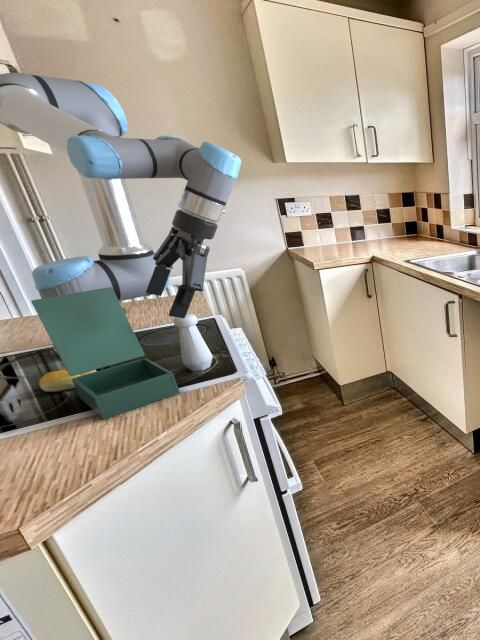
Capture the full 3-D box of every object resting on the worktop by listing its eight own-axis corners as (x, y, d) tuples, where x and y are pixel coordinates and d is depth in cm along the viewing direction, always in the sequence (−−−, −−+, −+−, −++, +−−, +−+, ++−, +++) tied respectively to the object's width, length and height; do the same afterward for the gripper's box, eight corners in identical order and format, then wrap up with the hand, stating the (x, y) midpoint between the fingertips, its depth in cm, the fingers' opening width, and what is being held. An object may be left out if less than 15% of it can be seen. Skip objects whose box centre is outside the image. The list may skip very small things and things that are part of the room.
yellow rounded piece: (32, 392, 90) (23, 375, 88) (79, 374, 98) (72, 358, 96) (63, 394, 88) (55, 377, 87) (108, 376, 96) (101, 360, 95)
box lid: (112, 286, 91) (111, 287, 91) (31, 300, 82) (30, 301, 82) (145, 355, 94) (144, 356, 94) (70, 376, 84) (70, 376, 85)
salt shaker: (192, 375, 96) (174, 320, 91) (180, 369, 98) (162, 317, 94) (219, 365, 100) (204, 313, 95) (208, 360, 103) (192, 310, 98)
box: (180, 392, 88) (172, 372, 86) (103, 419, 78) (94, 397, 77) (152, 376, 96) (145, 357, 94) (80, 398, 86) (71, 378, 85)
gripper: (243, 238, 89) (207, 329, 90) (194, 208, 101) (163, 289, 102) (203, 225, 82) (165, 324, 84) (156, 194, 94) (124, 281, 96)
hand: (164, 305), depth 93 cm, fingers open, 13 cm apart
